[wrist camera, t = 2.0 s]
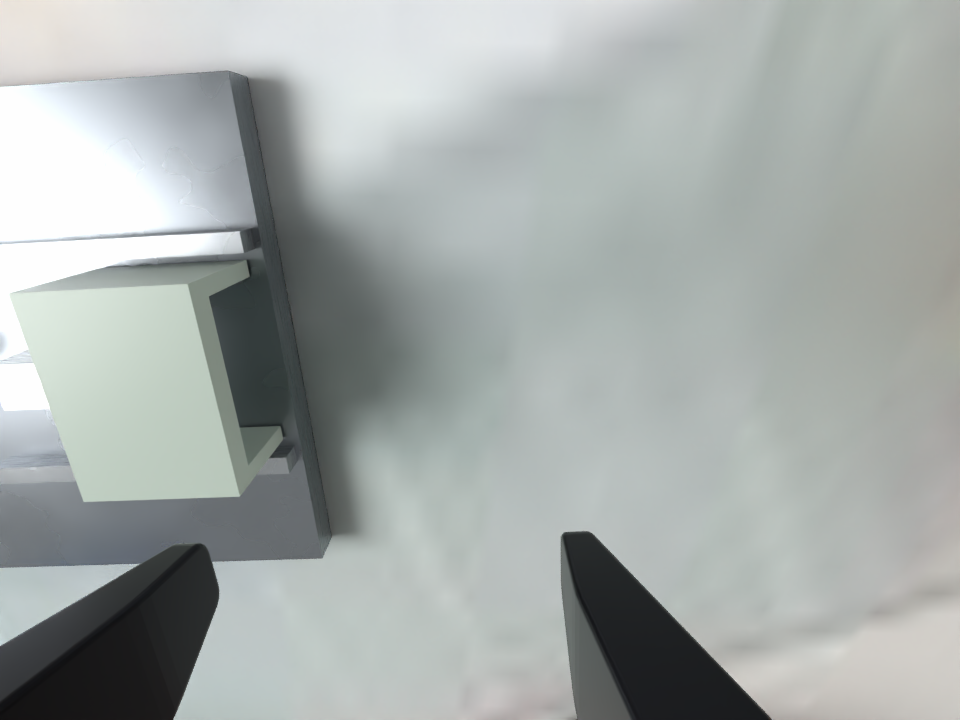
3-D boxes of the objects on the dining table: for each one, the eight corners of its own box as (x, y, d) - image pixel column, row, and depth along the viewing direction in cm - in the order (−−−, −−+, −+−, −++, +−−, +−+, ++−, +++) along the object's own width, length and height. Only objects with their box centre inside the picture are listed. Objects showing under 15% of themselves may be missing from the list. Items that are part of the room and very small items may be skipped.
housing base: (246, 76, 16) (149, 45, 11) (331, 536, 21) (288, 636, 17) (-243, 111, 16) (-514, 94, 12) (-38, 548, 22) (-172, 646, 18)
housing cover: (246, 259, 16) (187, 284, 13) (283, 439, 18) (239, 496, 15) (100, 268, 16) (8, 293, 13) (152, 444, 19) (83, 501, 15)
